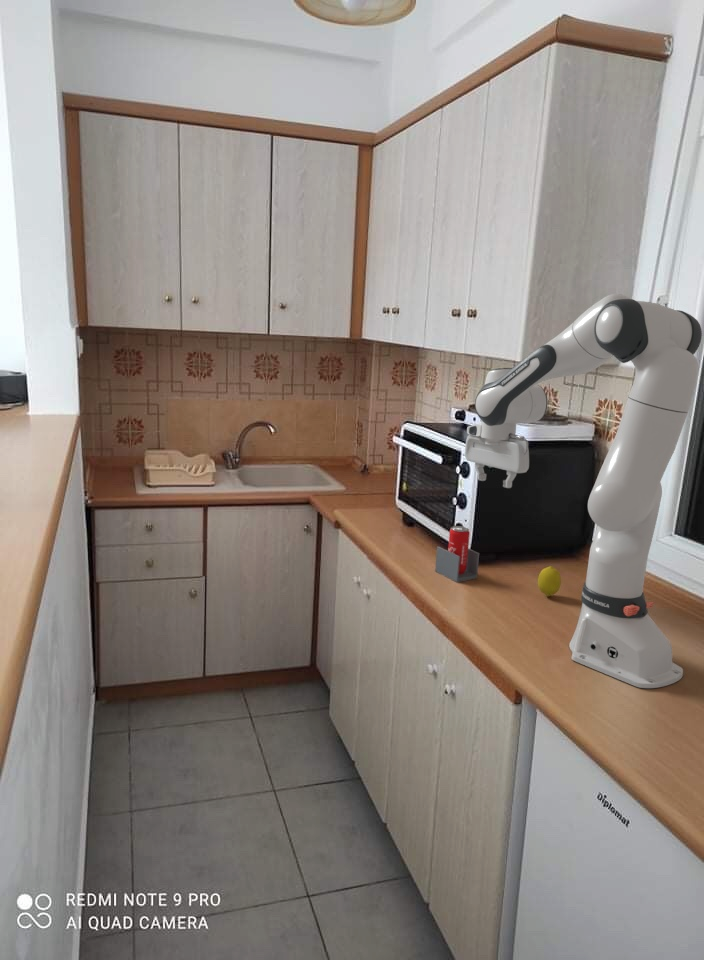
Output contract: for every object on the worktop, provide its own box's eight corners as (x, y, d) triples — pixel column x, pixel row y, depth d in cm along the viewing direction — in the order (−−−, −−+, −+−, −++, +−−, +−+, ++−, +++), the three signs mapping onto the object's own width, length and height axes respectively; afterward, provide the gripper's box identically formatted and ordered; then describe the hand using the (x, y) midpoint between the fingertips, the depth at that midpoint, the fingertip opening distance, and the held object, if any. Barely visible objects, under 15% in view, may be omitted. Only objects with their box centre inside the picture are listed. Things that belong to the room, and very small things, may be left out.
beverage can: (465, 575, 188) (469, 532, 186) (445, 573, 189) (449, 530, 187) (466, 569, 193) (470, 526, 191) (446, 567, 194) (450, 524, 192)
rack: (476, 578, 190) (479, 553, 188) (456, 582, 186) (458, 556, 185) (455, 567, 197) (457, 543, 196) (435, 571, 194) (437, 546, 192)
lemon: (552, 602, 176) (556, 571, 174) (532, 595, 179) (535, 565, 178) (562, 596, 180) (566, 566, 178) (542, 590, 183) (546, 561, 182)
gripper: (537, 436, 177) (532, 490, 180) (480, 425, 193) (476, 475, 196) (519, 437, 173) (514, 493, 176) (462, 426, 190) (459, 477, 193)
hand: (494, 483), depth 186 cm, fingers open, 8 cm apart
